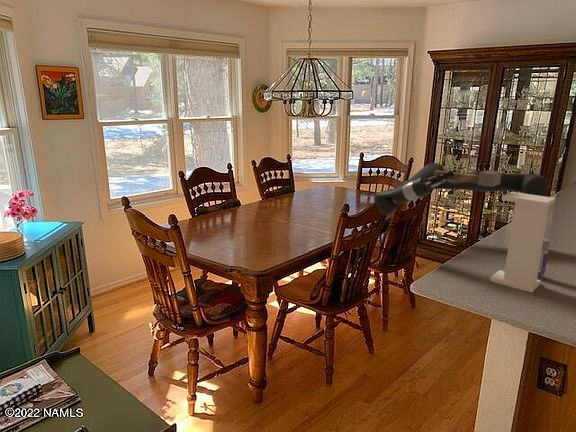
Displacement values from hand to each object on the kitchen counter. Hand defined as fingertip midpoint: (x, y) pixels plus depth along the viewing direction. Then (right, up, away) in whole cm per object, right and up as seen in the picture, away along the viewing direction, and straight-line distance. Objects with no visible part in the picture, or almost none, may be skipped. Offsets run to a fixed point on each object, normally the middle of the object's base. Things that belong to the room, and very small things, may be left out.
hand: (454, 172), depth 164 cm
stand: (+19, -41, -8) cm, 46 cm away
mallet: (+3, -3, -2) cm, 5 cm away
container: (+30, -40, -3) cm, 50 cm away
